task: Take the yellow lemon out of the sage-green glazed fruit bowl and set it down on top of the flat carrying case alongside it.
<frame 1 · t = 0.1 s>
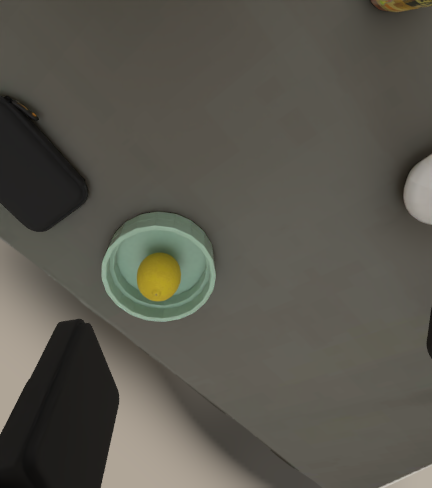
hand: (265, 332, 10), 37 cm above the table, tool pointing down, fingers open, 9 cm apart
lemon: (161, 259, 51), resting on fruit bowl
flower vase: (422, 177, 48), on the table
carrying case: (28, 161, 44), on the table
fruit bowl: (161, 259, 51), on the table
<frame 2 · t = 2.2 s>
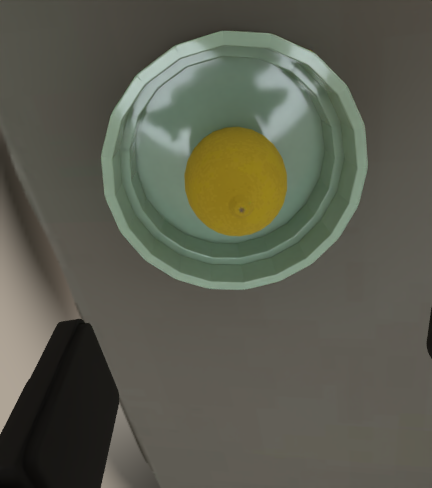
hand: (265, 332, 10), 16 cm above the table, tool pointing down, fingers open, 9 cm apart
lemon: (229, 159, 24), resting on fruit bowl
fruit bowl: (229, 159, 24), on the table
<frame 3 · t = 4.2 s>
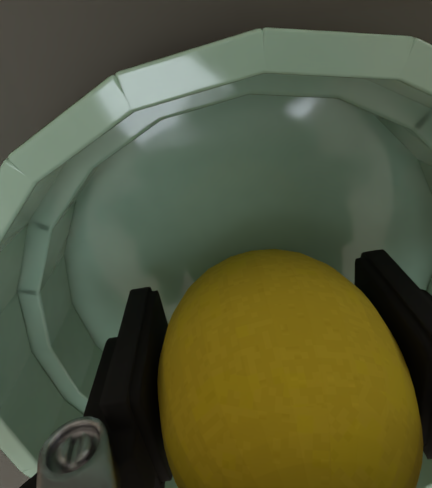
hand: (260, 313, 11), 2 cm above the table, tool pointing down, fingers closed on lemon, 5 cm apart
lemon: (252, 278, 13), resting on fruit bowl, touching gripper
fruit bowl: (252, 277, 13), on the table
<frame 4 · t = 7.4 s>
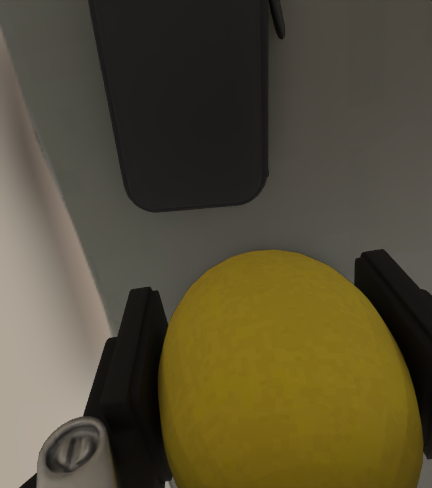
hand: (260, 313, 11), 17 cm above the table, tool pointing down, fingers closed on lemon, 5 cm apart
lemon: (252, 279, 13), point 15 cm above the table, touching gripper
carrying case: (196, 91, 24), on the table
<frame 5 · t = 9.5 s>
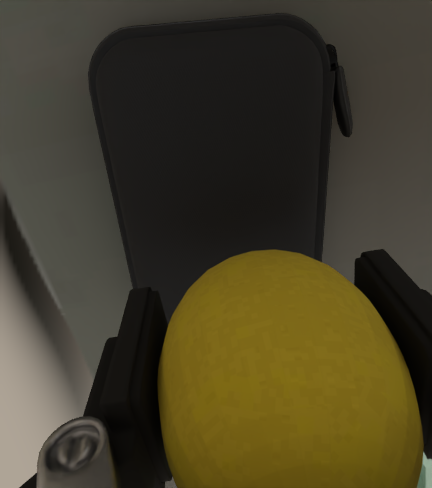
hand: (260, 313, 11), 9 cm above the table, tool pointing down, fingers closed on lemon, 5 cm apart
lemon: (252, 279, 13), point 7 cm above the table, touching gripper
carrying case: (228, 189, 19), on the table
fruit bowl: (305, 433, 28), on the table
when the fingers open (5 cm above the table, at t = 11.0 s): lemon stays where it is, resting on carrying case.
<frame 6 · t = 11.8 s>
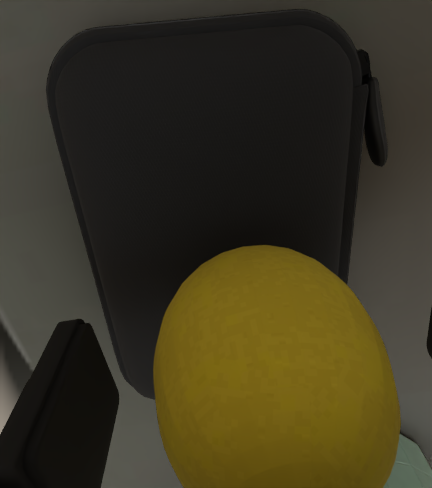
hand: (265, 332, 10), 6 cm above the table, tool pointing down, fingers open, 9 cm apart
lemon: (245, 274, 13), point 3 cm above the table, touching carrying case
carrying case: (229, 225, 16), on the table, touching lemon
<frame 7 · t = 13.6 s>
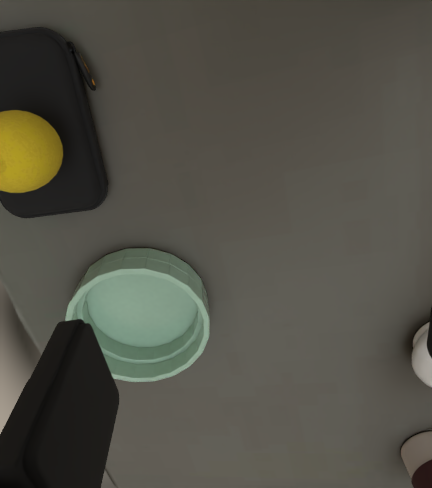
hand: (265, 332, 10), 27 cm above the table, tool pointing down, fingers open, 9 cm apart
lemon: (40, 140, 30), point 3 cm above the table, touching carrying case
carrying case: (47, 127, 33), on the table, touching lemon
coffee cup: (422, 444, 56), on the table
fruit bowl: (143, 303, 42), on the table
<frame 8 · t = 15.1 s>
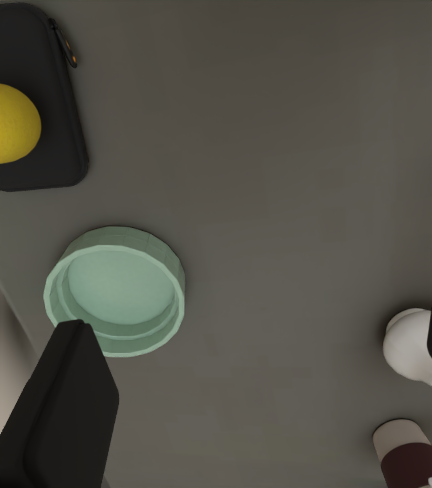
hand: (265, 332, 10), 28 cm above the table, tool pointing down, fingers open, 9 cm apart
lemon: (21, 114, 31), point 3 cm above the table, touching carrying case
flower vase: (405, 322, 48), on the table
carrying case: (30, 103, 34), on the table, touching lemon
coffee cup: (394, 432, 58), on the table
fruit bowl: (122, 281, 43), on the table
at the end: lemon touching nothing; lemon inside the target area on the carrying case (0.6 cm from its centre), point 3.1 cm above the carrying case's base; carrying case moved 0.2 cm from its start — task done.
